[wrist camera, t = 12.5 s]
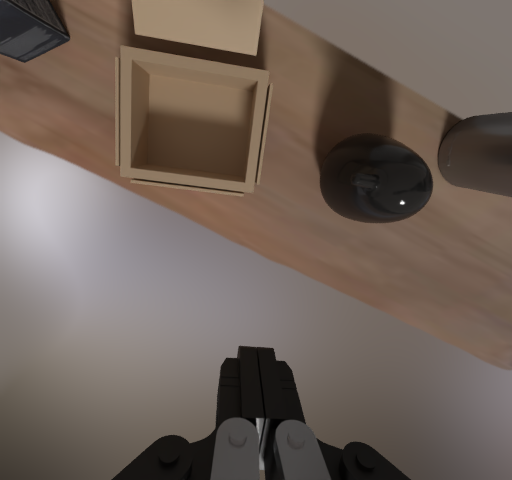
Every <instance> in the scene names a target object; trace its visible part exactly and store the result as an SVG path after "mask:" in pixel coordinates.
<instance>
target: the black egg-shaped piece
mask: <svg viewBox="0 0 512 480" xmlns="http://www.w3.org/2000/svg"><path fill="white" fill-rule="evenodd" d="M320 188H321V193H322V196H323V198H324V200H325V202H326V203H327V205H328V206H329V207H330V208H331V209H332V210H333V211H334V212H336V213H337V214H339V215H341V216H343V217H345V218H347V219H351V220H354V221H359V222H365V223H391V222H396V221H400V220H404V219H406V218H409V217H411V216H413V215H414V214H416V213H417V212H419V211H420V210H421V209H422V208H423V207H424V206H425V205H426V204H427V202H428V201H429V199H430V197H431V194H432V190H433V179H432V175H431V172H430V169H429V167H428V166H427V164H426V163H425V161H424V160H423V159H422V158H421V157H420V156H419V155H418V154H417V153H416V152H415V151H413V150H412V149H410V148H409V147H407V146H406V145H404V144H403V143H401V142H399V141H397V140H394V139H392V138H389V137H386V136H383V135H379V134H372V133H363V134H357V135H353V136H350V137H348V138H346V139H344V140H343V141H341V142H340V143H338V144H337V145H336V146H335V147H334V148H333V149H332V150H331V151H330V153H329V154H328V156H327V157H326V159H325V161H324V163H323V166H322V169H321V173H320Z"/></svg>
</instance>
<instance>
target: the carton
mask: <svg viewBox="0 0 512 480" xmlns="http://www.w3.org/2000/svg"><path fill="white" fill-rule="evenodd" d="M269 72H270V71H266V70H260V69H254V68H248V67H243V66H237V65H231V64H225V63H220V62H214V61H208V60H202V59H197V58H191V57H185V56H179V55H174V54H168V53H162V52H156V51H151V50H145V49H139V48H133V47H128V46H122V45H121V59H120V58H118V57H115V140H116V166H120V176H121V177H129V178H134V179H132V180H131V183H138V184H146V185H154V186H162V187H170V188H178V189H186V190H194V191H202V192H210V193H218V194H226V195H234V196H244V193H243V192H248V193H253V191H254V184H255V182H256V184H259V183H260V176H261V169H262V161H263V154H264V147H265V140H266V133H267V126H268V118H269V111H270V104H271V97H272V90H273V84H272V83H270V85H269V86H268V80H269ZM267 87H268V88H267Z"/></svg>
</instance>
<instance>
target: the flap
mask: <svg viewBox="0 0 512 480" xmlns="http://www.w3.org/2000/svg"><path fill="white" fill-rule="evenodd" d="M263 4H264V0H132V9H133V18H134V28H135V34H137V35H143V36H148V37H154V38H159V39H165V40H171V41H176V42H182V43H187V44H193V45H199V46H204V47H210V48H215V49H221V50H226V51H232V52H238V53H243V54H249V55H254V56H256V54H257V47H258V40H259V33H260V25H261V18H262V11H263Z"/></svg>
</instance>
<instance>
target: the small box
mask: <svg viewBox="0 0 512 480" xmlns="http://www.w3.org/2000/svg"><path fill="white" fill-rule="evenodd" d="M69 40H70V37H69V35H68V34H67V32H66V30H65V28H64V26H63V24H62V22H61V21H60V19H59V17H58V15H57V13H56V12H55V10H54V8H53V6H52V4H51V2H50V1H49V0H0V54H2V55H5V56H8V57H10V58H13V59H16V60H19V61H21V62H24V63H25V62H27V61H29V60H31V59H33V58H36V57H37V56H40V55H42V54H44V53H46V52H48V51H50V50H52V49H54V48H56V47H58V46H60V45H62V44H64V43H66V42H68V41H69Z"/></svg>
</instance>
